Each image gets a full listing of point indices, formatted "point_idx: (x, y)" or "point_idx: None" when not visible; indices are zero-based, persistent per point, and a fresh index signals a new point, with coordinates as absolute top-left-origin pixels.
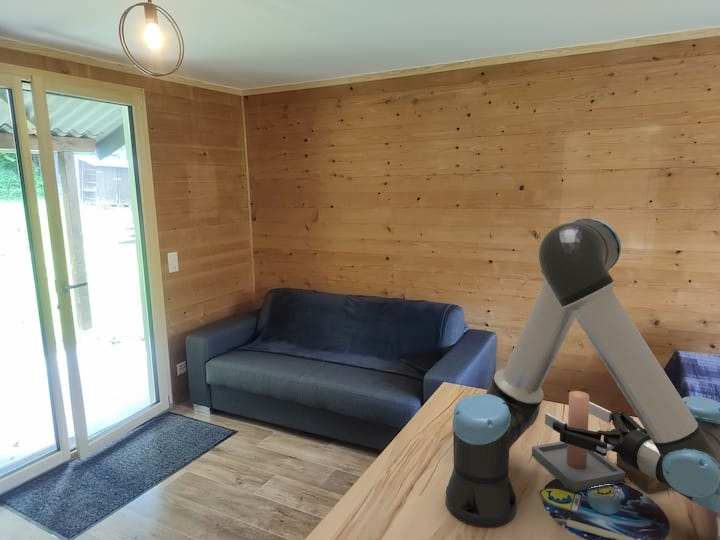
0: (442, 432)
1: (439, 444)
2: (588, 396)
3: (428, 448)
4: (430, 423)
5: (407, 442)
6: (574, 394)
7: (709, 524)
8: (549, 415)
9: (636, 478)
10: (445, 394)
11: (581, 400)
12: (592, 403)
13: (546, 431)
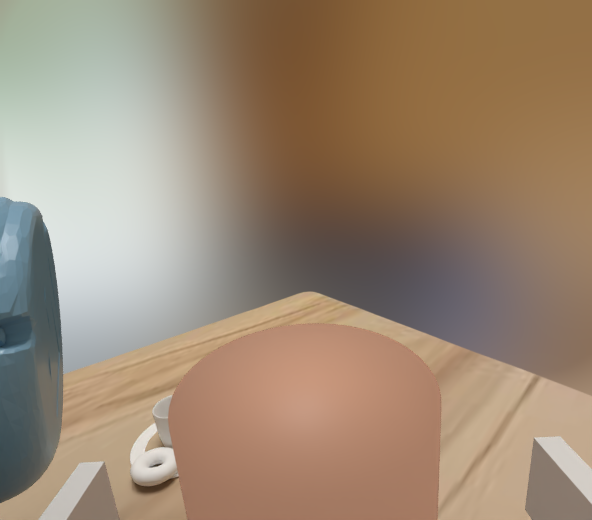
0: (141, 385)
1: (77, 418)
2: (397, 451)
3: None
4: (159, 357)
5: None
6: (258, 362)
7: None
8: (58, 499)
9: None
10: (278, 305)
11: (209, 501)
12: (582, 470)
13: None
